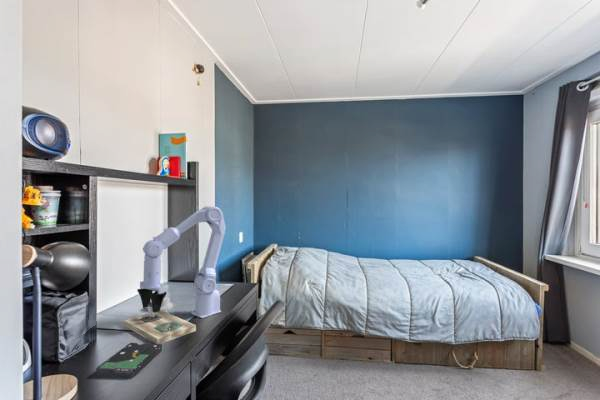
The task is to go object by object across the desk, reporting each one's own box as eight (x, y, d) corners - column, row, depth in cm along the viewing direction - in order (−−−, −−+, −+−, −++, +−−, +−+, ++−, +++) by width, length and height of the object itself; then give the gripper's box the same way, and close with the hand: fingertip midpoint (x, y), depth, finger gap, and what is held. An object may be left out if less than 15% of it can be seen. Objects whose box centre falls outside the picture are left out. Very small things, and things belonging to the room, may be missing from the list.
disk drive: (129, 351, 94) (94, 378, 79) (129, 342, 94) (95, 367, 79) (162, 352, 93) (133, 380, 78) (162, 343, 93) (134, 368, 78)
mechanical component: (162, 303, 137) (142, 310, 128) (162, 293, 137) (142, 299, 128) (177, 307, 132) (157, 314, 123) (178, 297, 132) (157, 303, 123)
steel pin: (152, 322, 115) (153, 301, 115) (156, 323, 113) (157, 303, 113) (145, 324, 113) (146, 303, 113) (149, 326, 111) (149, 305, 111)
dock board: (161, 315, 122) (161, 309, 122) (195, 330, 108) (196, 324, 108) (124, 325, 111) (124, 319, 111) (157, 345, 97) (157, 337, 97)
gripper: (132, 271, 115) (131, 307, 114) (151, 277, 106) (150, 317, 106) (150, 268, 120) (149, 303, 120) (170, 274, 111) (169, 311, 111)
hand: (151, 309), depth 113 cm, fingers open, 7 cm apart
